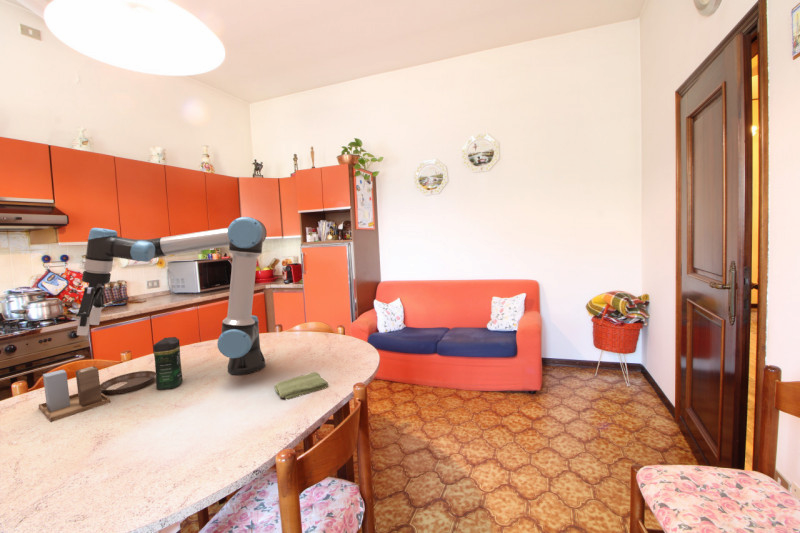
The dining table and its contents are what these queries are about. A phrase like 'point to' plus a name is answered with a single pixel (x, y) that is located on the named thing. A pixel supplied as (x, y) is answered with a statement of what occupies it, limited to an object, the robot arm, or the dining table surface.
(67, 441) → the dining table surface
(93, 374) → the labelled carton
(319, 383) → the washcloth
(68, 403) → the plain carton
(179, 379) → the coffee jar
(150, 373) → the plant saucer
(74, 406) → the parts tray
